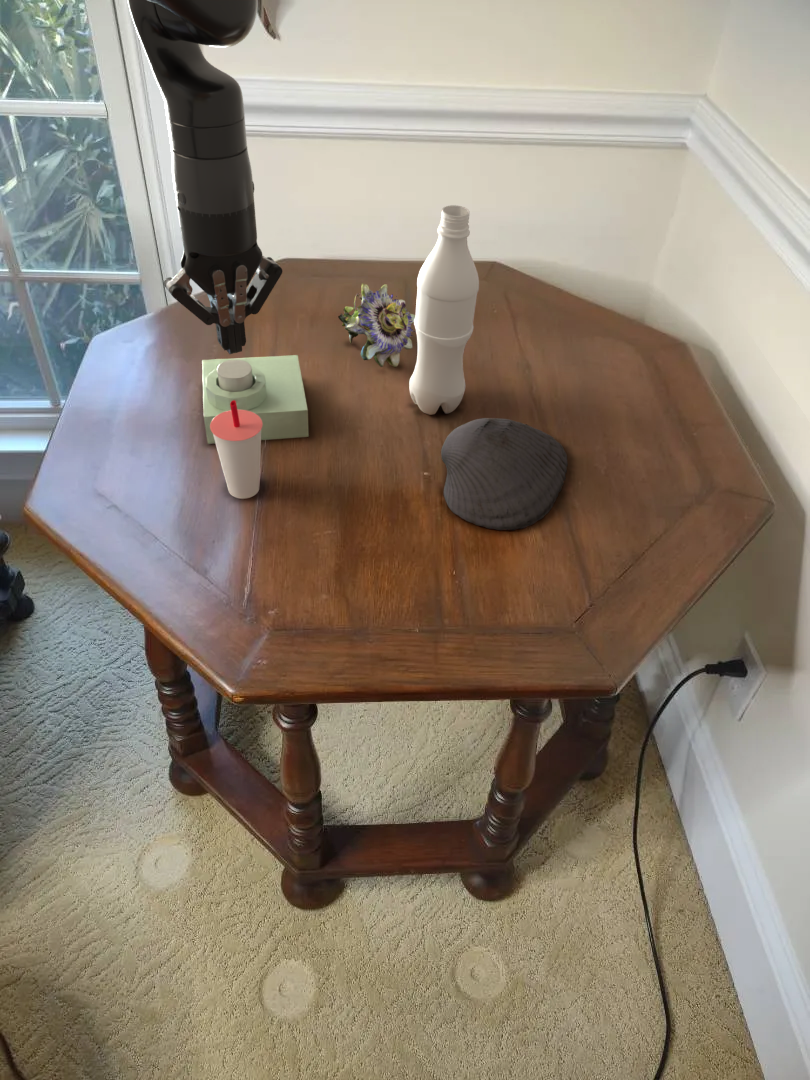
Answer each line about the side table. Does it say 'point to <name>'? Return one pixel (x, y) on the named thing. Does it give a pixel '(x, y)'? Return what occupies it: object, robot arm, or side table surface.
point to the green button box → (261, 396)
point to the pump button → (235, 375)
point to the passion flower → (380, 325)
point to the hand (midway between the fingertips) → (232, 349)
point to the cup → (239, 449)
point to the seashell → (502, 473)
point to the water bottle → (444, 315)
